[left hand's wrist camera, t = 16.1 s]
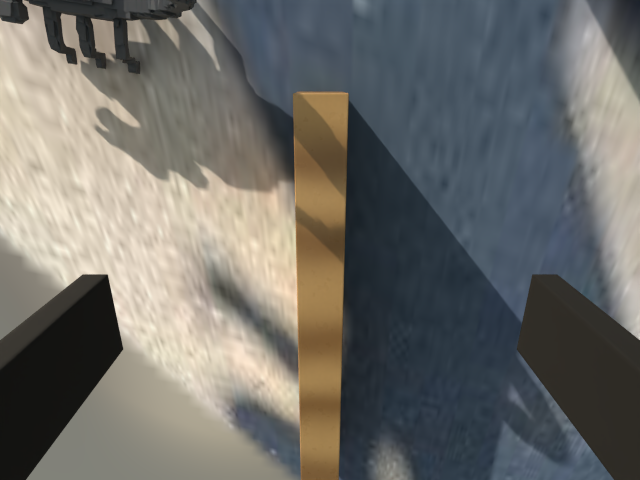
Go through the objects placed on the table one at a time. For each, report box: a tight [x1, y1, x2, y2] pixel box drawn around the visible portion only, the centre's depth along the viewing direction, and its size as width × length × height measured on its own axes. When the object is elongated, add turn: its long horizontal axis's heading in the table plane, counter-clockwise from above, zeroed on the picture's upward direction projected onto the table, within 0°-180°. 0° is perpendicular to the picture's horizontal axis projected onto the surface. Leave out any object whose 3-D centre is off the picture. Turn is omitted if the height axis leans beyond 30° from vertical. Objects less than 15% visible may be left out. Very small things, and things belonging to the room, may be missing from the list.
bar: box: [293, 92, 349, 480], centre depth 48 cm, size 50×5×9 cm, turn 0°
